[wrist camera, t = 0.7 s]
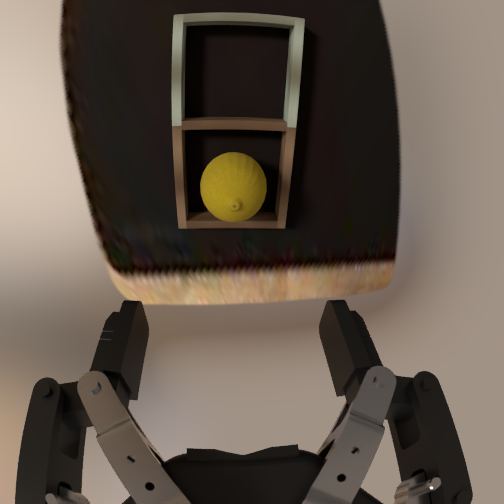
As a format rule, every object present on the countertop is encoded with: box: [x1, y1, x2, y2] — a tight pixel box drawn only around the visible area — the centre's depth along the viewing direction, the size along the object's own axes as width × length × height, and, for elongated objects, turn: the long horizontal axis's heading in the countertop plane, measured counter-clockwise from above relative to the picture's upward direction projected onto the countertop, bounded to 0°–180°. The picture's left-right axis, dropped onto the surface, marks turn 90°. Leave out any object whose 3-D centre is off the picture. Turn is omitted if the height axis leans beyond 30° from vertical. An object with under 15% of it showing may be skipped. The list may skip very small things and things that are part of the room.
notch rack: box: [172, 13, 305, 228], centre depth 23 cm, size 20×11×2 cm, turn 177°
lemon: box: [200, 152, 267, 222], centre depth 24 cm, size 6×6×8 cm
